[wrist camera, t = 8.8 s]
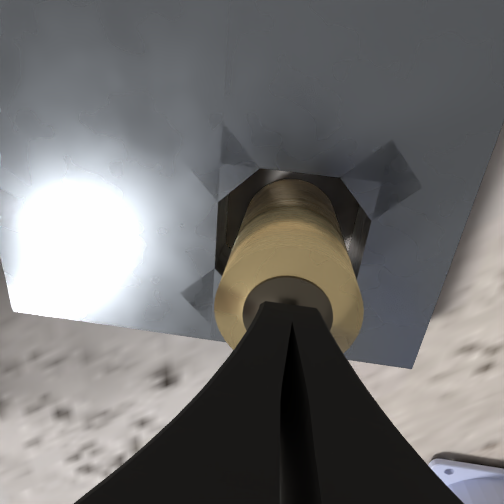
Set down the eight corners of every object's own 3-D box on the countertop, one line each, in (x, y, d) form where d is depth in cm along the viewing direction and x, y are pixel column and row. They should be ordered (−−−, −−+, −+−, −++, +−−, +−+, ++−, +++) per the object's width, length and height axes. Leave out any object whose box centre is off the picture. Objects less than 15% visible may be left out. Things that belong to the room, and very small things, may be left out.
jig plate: (510, -11, 12) (561, -34, 10) (397, 333, 18) (412, 369, 16) (-13, -56, 13) (-79, -86, 11) (46, 284, 19) (12, 311, 17)
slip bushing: (345, 186, 15) (383, 263, 9) (325, 270, 17) (345, 386, 10) (250, 172, 15) (219, 238, 9) (240, 256, 17) (208, 362, 11)
